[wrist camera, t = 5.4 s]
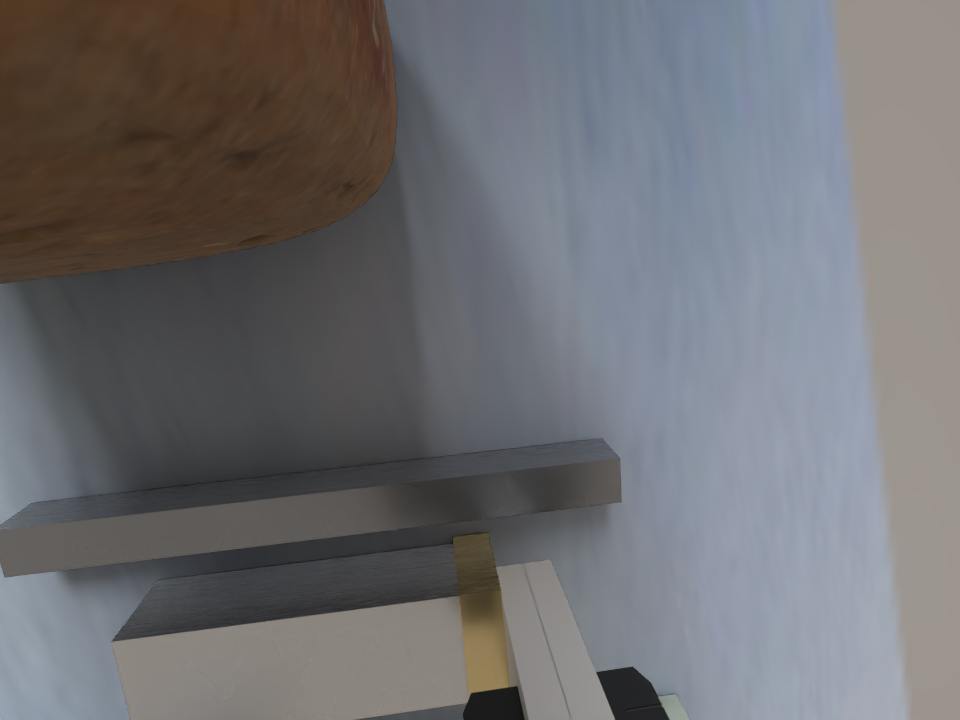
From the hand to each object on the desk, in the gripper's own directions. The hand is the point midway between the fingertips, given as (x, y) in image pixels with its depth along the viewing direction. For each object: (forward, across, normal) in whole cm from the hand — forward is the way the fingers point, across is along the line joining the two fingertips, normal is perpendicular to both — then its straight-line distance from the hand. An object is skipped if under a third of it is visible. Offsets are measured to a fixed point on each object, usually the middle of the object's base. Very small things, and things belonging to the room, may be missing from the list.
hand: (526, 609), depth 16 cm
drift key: (+2, -6, 0) cm, 6 cm away
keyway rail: (+2, -5, +3) cm, 6 cm away
